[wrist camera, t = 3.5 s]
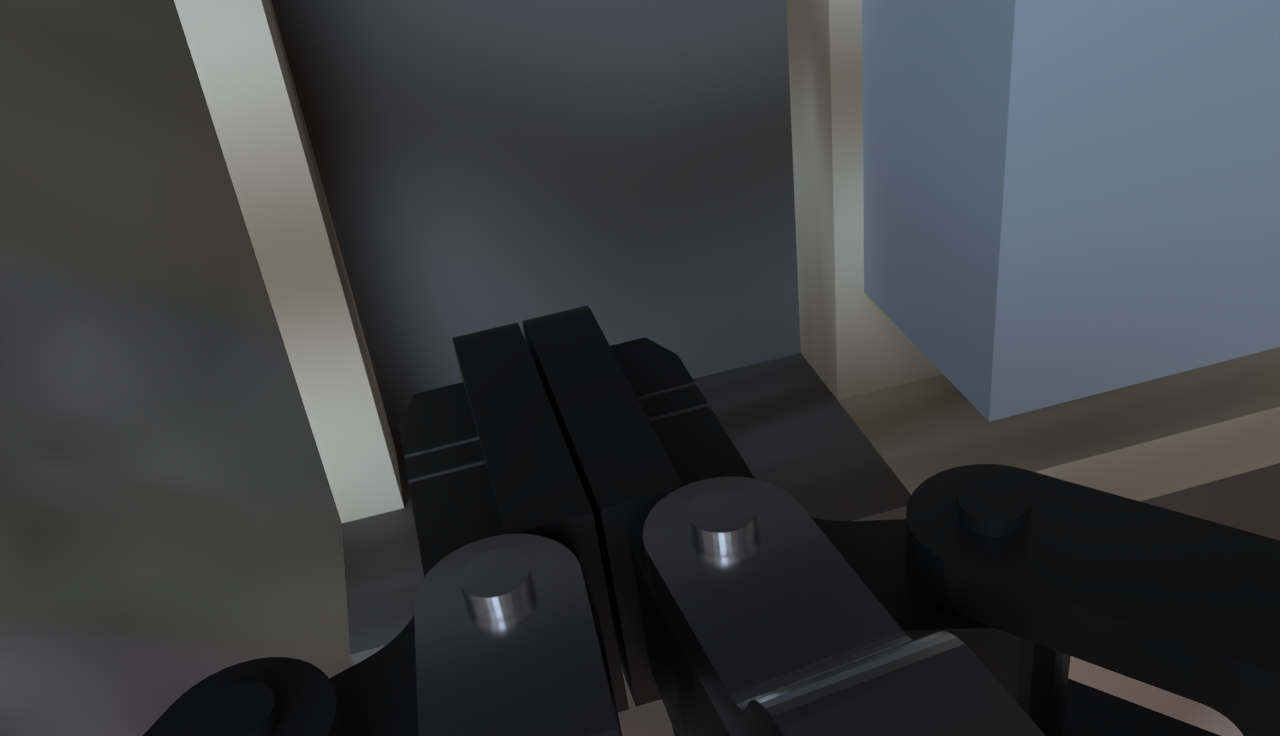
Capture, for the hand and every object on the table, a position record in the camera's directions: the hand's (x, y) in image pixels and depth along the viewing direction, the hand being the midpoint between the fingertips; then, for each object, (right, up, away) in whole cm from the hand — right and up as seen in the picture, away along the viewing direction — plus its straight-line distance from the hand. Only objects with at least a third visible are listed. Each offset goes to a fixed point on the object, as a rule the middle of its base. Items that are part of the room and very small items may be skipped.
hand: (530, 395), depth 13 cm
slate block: (+8, +5, +5) cm, 11 cm away
